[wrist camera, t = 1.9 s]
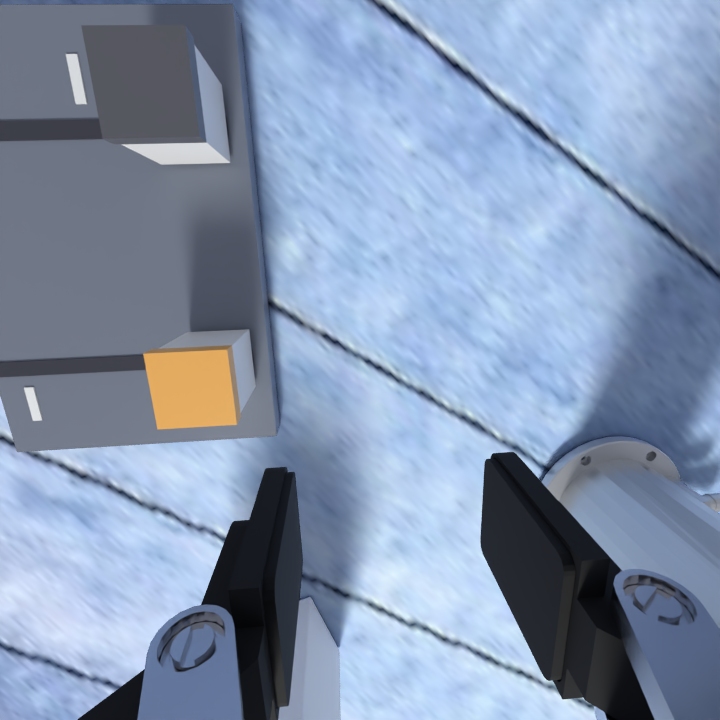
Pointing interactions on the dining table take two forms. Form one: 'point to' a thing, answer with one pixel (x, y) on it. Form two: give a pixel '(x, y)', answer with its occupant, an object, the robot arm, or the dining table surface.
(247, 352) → the fader orange
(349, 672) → the dining table surface
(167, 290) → the console
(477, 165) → the dining table surface
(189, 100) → the block
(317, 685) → the milk carton
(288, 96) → the dining table surface
